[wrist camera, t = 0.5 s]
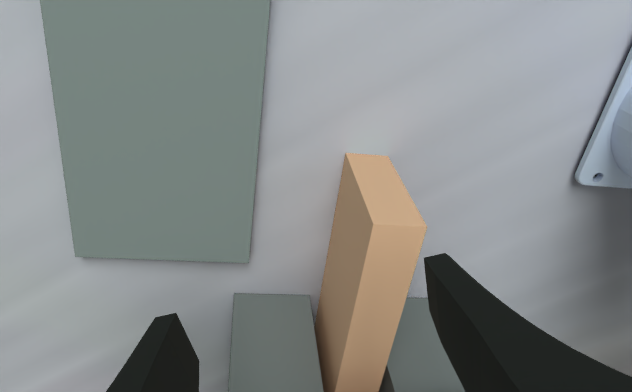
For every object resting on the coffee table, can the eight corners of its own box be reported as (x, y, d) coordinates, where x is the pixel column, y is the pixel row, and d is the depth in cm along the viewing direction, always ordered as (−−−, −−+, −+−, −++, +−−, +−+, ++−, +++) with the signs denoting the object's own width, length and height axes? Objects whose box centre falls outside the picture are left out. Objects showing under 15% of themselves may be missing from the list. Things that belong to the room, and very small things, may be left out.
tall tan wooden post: (387, 154, 22) (427, 226, 17) (345, 339, 28) (366, 434, 23) (345, 151, 22) (373, 224, 17) (311, 339, 28) (325, 435, 23)
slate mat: (279, -122, 16) (280, -123, 16) (248, 255, 24) (248, 263, 24) (24, -164, 15) (16, -167, 15) (79, 249, 23) (75, 256, 22)
